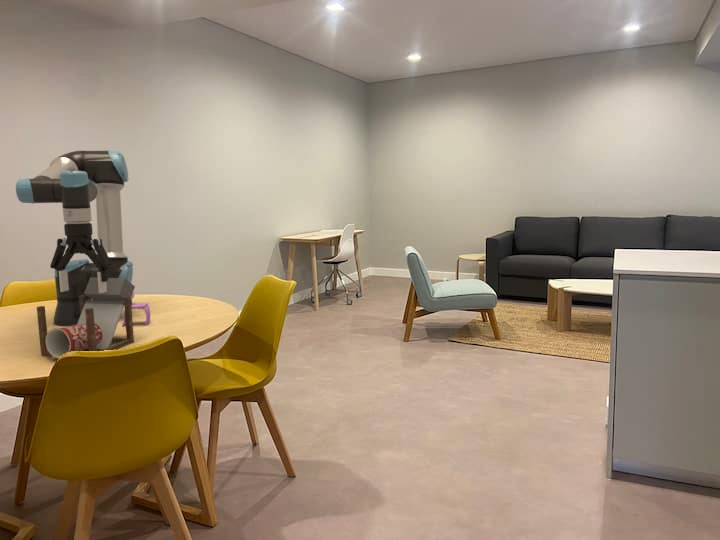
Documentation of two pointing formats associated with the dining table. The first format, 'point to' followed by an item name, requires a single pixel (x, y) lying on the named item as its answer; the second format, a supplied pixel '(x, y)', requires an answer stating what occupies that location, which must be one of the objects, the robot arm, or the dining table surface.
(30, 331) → the dining table surface
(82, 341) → the mug
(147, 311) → the purple tall handled piece
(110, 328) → the trapdoor
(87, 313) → the frame
